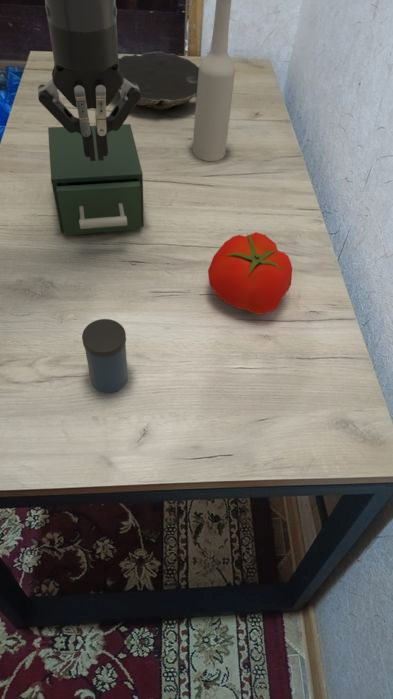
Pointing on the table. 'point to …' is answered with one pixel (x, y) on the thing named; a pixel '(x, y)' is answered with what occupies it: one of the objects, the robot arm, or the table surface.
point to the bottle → (214, 91)
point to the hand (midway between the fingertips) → (96, 157)
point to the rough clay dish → (161, 78)
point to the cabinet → (77, 167)
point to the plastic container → (106, 355)
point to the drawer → (100, 206)
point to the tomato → (250, 273)
